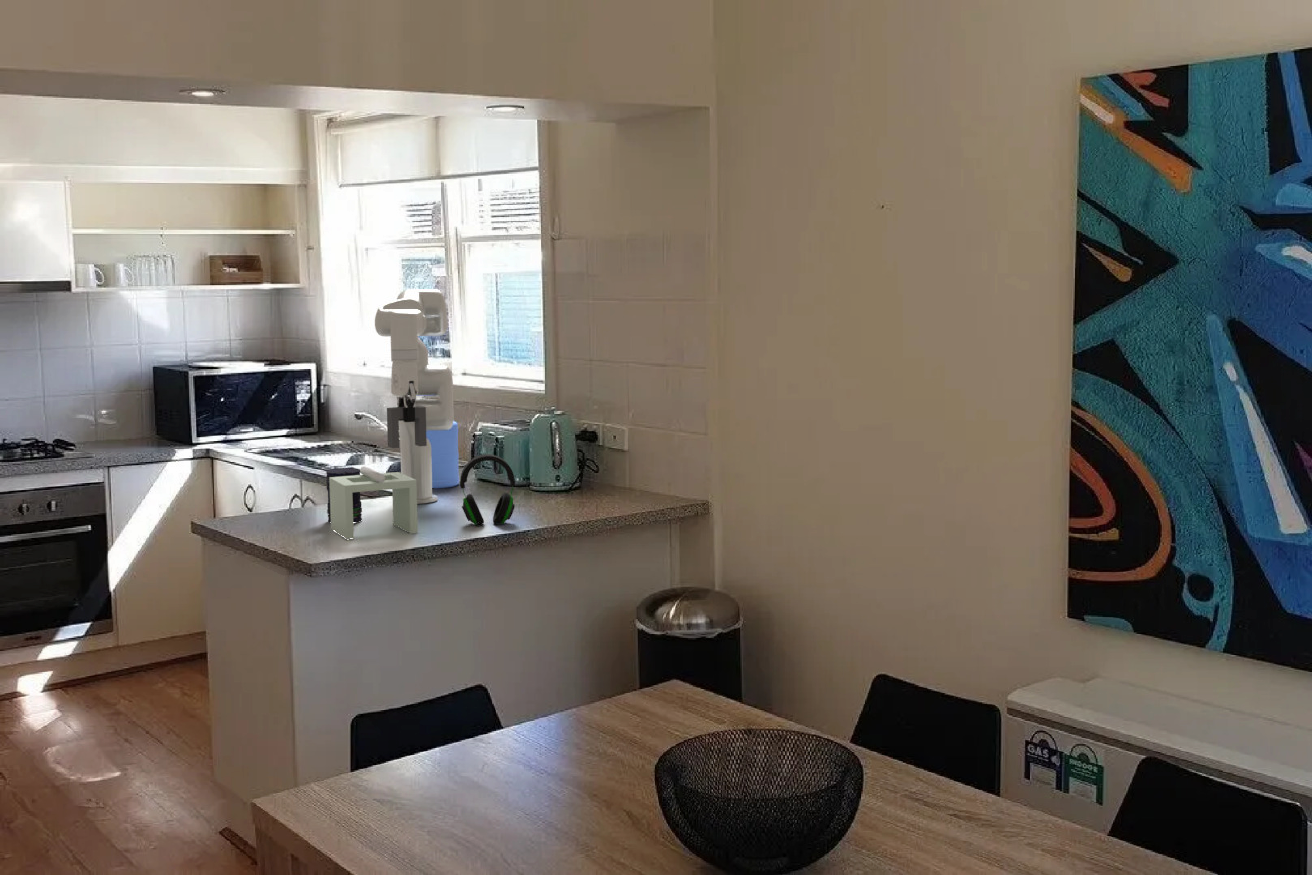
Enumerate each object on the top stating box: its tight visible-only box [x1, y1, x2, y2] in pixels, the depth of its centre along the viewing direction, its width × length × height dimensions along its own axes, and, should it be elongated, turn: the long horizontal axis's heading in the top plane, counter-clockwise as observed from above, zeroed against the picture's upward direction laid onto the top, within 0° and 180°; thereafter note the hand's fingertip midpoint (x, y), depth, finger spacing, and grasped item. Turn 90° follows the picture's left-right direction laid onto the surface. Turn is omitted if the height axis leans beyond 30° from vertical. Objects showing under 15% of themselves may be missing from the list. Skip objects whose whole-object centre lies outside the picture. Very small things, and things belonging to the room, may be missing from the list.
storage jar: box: [325, 467, 363, 523], centre depth 405 cm, size 10×10×15 cm
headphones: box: [459, 453, 516, 526], centre depth 400 cm, size 9×16×20 cm, turn 102°
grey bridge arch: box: [386, 406, 427, 449], centre depth 393 cm, size 4×10×11 cm, turn 119°
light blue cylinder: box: [426, 420, 460, 489], centre depth 467 cm, size 16×16×28 cm
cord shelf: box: [329, 465, 419, 539], centre depth 390 cm, size 16×20×17 cm
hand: (406, 420), depth 393 cm, fingers closed on grey bridge arch, 4 cm apart
